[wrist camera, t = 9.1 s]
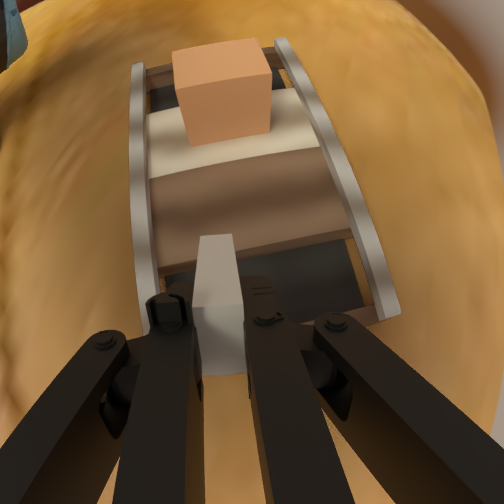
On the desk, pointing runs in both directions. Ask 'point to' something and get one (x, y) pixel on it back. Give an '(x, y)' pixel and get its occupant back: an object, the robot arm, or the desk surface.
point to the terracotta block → (223, 90)
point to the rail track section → (253, 200)
